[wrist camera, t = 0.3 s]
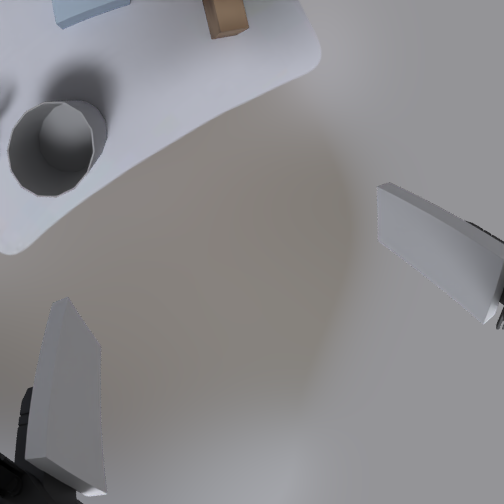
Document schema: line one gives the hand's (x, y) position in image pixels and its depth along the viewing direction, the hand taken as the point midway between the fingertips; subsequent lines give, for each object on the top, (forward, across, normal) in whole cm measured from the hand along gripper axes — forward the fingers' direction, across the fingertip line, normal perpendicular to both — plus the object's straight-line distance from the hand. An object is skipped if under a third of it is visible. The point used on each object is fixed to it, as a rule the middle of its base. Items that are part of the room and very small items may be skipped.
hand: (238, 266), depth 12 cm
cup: (+27, -10, +6) cm, 30 cm away
